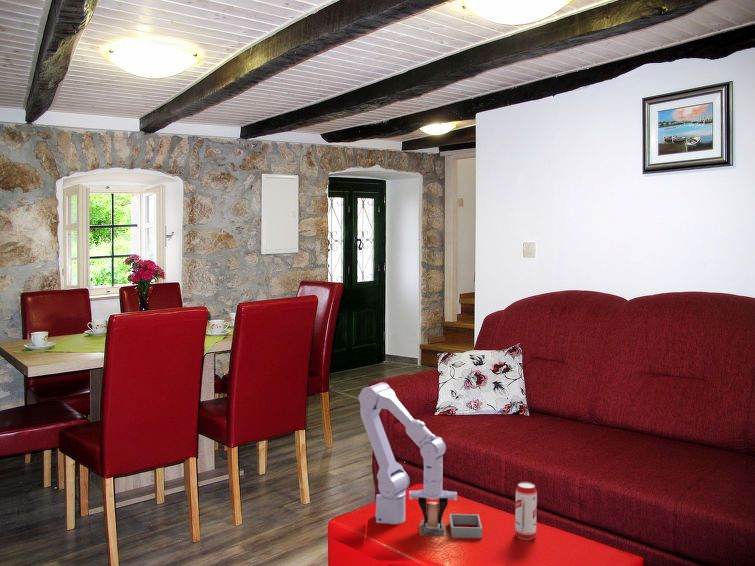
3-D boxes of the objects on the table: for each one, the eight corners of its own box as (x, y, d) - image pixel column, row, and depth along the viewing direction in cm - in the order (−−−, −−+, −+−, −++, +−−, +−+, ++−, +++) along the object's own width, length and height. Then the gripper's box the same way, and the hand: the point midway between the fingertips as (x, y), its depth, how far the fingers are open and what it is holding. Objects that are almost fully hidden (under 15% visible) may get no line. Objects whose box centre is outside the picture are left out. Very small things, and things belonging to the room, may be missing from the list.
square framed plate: (419, 538, 201) (419, 530, 200) (419, 526, 209) (419, 519, 208) (446, 539, 200) (446, 530, 200) (444, 527, 208) (445, 519, 208)
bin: (451, 540, 199) (451, 527, 199) (449, 526, 209) (449, 513, 209) (482, 541, 199) (482, 528, 198) (478, 527, 209) (478, 514, 208)
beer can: (534, 532, 205) (535, 481, 204) (537, 541, 199) (538, 489, 198) (513, 531, 206) (514, 480, 204) (516, 540, 199) (517, 488, 198)
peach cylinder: (425, 532, 202) (425, 506, 202) (425, 526, 207) (425, 501, 206) (440, 532, 202) (440, 507, 202) (439, 526, 206) (439, 501, 206)
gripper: (409, 482, 200) (408, 526, 201) (457, 483, 199) (457, 528, 200) (409, 474, 207) (408, 517, 208) (456, 475, 206) (455, 518, 207)
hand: (432, 521), depth 204 cm, fingers closed on peach cylinder, 4 cm apart
